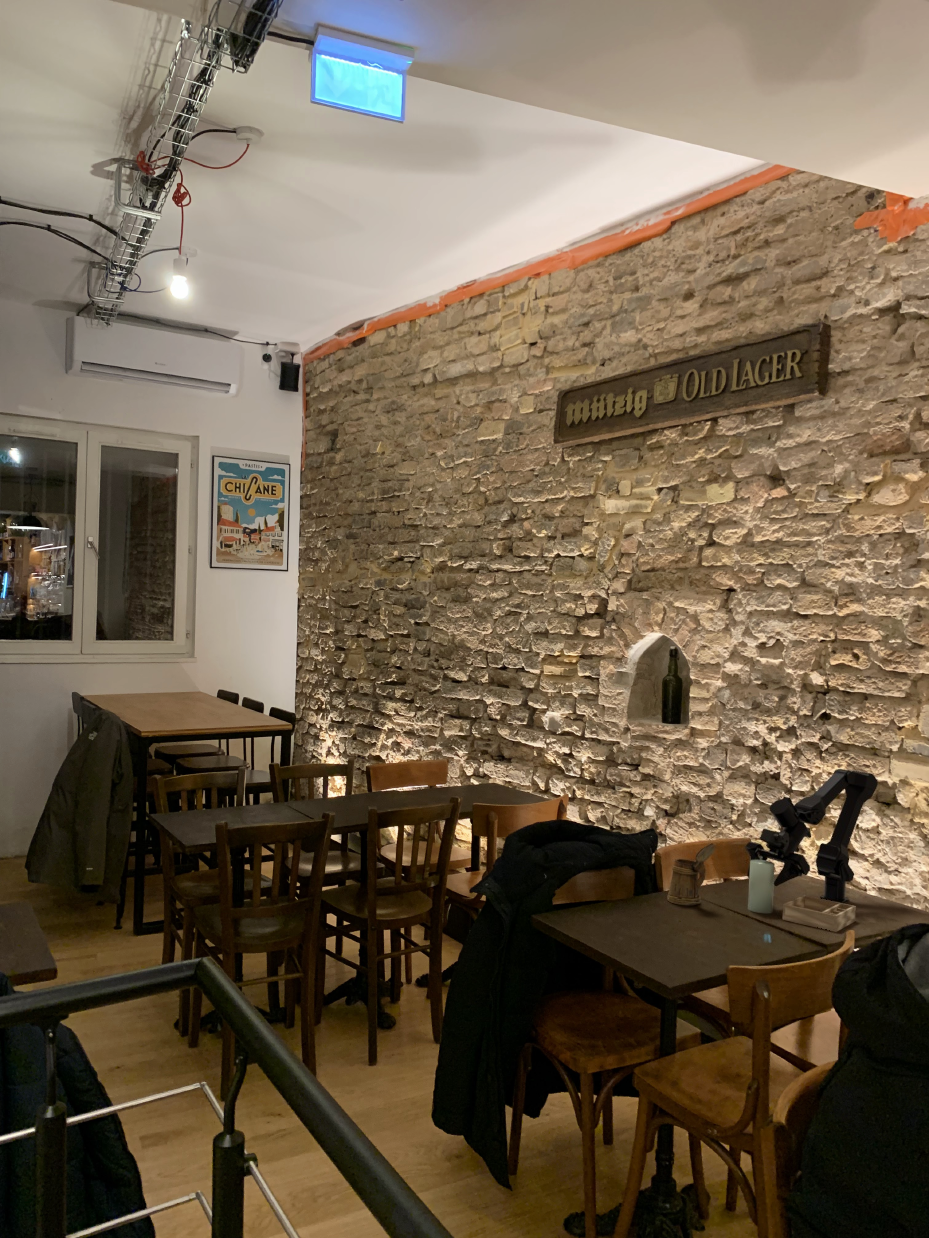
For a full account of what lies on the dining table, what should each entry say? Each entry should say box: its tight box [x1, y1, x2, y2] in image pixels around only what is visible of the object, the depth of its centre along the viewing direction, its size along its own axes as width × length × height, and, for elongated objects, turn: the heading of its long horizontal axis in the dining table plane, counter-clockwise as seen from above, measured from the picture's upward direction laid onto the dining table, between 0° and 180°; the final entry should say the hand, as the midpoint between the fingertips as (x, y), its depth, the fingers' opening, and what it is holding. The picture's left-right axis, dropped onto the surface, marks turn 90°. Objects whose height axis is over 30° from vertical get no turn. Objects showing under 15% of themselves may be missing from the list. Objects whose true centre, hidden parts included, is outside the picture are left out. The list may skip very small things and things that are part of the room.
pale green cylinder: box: [747, 860, 776, 914], centre depth 262 cm, size 6×6×13 cm
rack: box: [782, 894, 857, 933], centre depth 255 cm, size 15×14×4 cm
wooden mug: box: [666, 842, 716, 907], centre depth 265 cm, size 9×14×18 cm, turn 37°
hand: (761, 880), depth 262 cm, fingers open, 9 cm apart
